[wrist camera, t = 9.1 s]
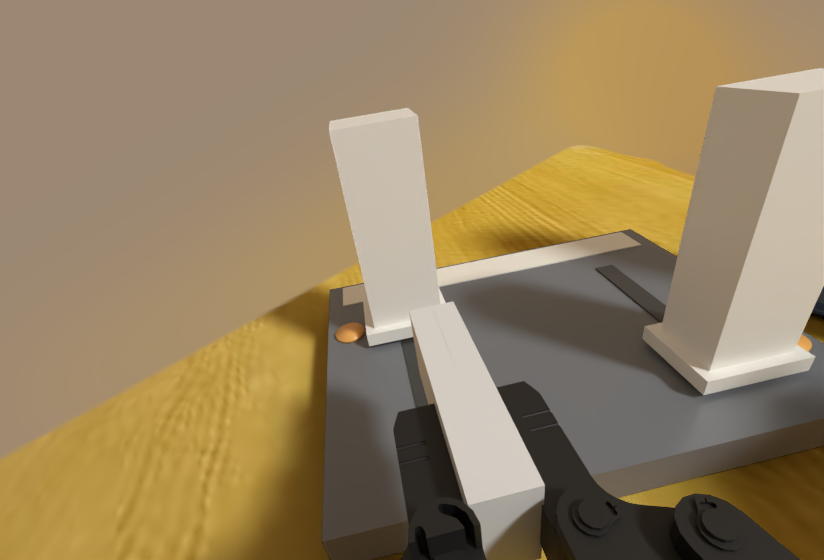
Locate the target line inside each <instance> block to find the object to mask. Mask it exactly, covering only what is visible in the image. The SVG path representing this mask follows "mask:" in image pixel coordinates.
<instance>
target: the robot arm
mask: <svg viewBox="0 0 824 560" xmlns="http://www.w3.org/2000/svg"><path fill="white" fill-rule="evenodd" d="M409 315H410V320H411V326H412V332H413V338H414V344H415V349H416V355H417V361H418V367H419V373H420V376H421V380H422V383H423V387H424V390H425V394H426V398H427V401H428V405H425V406H421V407H417V408H412V409H408V410H404V411H400V412H398V414H397V417H396V421H395V424H394V428H393V432H394V438H395V444H396V450H397V457H398V463H399V469H400V475H401V481H402V487H403V493H404V499H405V505H406V511H407V517H408V523H409V527H408V544H407V548H406V550H405V552H404V555H403V557H402V558H401V560H536V559H540V558H541V551H542V549H543V551H544V553H545V556H546V558H547V560H800V559H799V558H797V557H796V556H795V555H794V554H793V553H791V552H790V551H789V550H788V549H787V548H785V547H784V546H783V545H782V544H781V543H779V542H778V541H777V540H776V539H775V538H773V537H772V536H771V535H770V534H768V533H767V532H766V531H765V530H764V529H762V528H761V527H760V526H759V525H758V524H756V523H755V522H754V521H753V520H752V519H750V518H749V517H748V516H747V515H746V514H744V513H743V512H742V511H740V510H739V509H737V508H736V507H734V506H733V505H731V504H730V503H728V502H727V501H725V500H722V499H719V498H716V497H714V496H711V495H704V494H692V495H689V496H686V497H683V498H682V499H681V500H680V502H679V503H678V504H677V505H676V507H675V508H670V507H658V506H647V505H638V504H632V503H628V502H625V501H623V500H620V499H617V498H616V497H614V496H612V495H611V494H609V493H607V492H606V491H605V490H604V489H603V488H601V487H600V486H599V485H598V484H597V483H596V481H595V480H594V479H593V477H592V476H591V475H590V473H589V471H588V470H587V468H586V467H585V465H584V463H583V462H582V460H581V459H580V457H579V455H578V454H577V452H576V451H575V449H574V447H573V446H572V444H571V442H570V441H569V439H568V438H567V436H566V434H565V433H564V431H563V430H562V428H561V426H559V425H558V422H557V420H556V418H555V417H554V415H553V413H552V412H550V409H549V407H548V405H547V404H546V402H545V401H544V399H543V397H542V396H541V394H540V393H539V392H538V391H537V390H535V389H534V388H533V387H531V386H530V385H529V384H527V383H526V382H525V381H522V382H517V383H513V384H509V385H505V386H500V387H496V386H495V384H494V382H493V380H492V378H491V376H490V374H489V372H488V370H487V368H486V366H485V364H484V362H483V360H482V358H481V356H480V354H479V352H478V350H477V348H476V346H475V344H474V342H473V340H472V338H471V336H470V334H469V332H468V330H467V328H466V326H465V324H464V322H463V320H462V318H461V316H460V314H459V312H458V310H457V308H456V306H455V304H454V302H453V301H452V302H448V303H443V304H438V305H434V306H429V307H425V308H420V309H415V310H411V311H409Z"/></svg>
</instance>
